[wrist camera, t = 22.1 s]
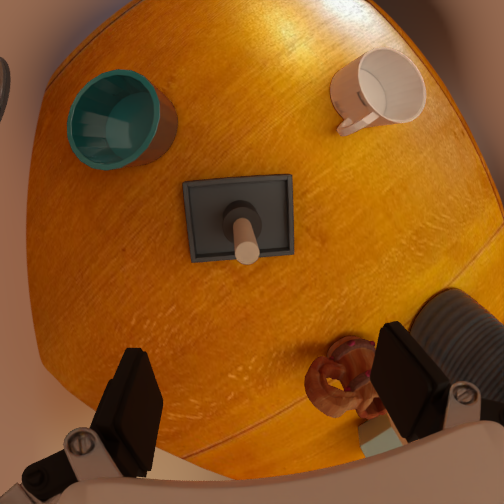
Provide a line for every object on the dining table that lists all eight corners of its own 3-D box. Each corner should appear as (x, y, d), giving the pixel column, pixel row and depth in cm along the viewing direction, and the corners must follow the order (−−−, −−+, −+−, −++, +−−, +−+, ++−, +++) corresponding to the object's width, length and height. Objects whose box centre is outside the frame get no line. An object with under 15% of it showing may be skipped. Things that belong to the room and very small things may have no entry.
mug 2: (378, 331, 45) (419, 388, 31) (359, 367, 48) (391, 426, 34) (301, 322, 43) (330, 390, 29) (285, 361, 46) (304, 431, 31)
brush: (224, 235, 37) (222, 280, 24) (221, 201, 36) (217, 229, 23) (258, 232, 38) (275, 275, 24) (256, 198, 36) (273, 224, 23)
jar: (107, 170, 34) (70, 177, 24) (103, 98, 30) (66, 84, 21) (180, 159, 34) (163, 161, 25) (176, 83, 31) (158, 60, 21)
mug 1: (358, 55, 31) (390, 34, 22) (398, 104, 33) (437, 97, 25) (299, 101, 33) (321, 86, 24) (344, 153, 35) (377, 155, 27)
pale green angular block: (356, 417, 60) (360, 460, 40) (382, 400, 59) (395, 438, 39) (387, 456, 55) (396, 502, 36) (411, 440, 54) (428, 483, 34)
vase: (427, 282, 43) (554, 394, 13) (476, 290, 45) (579, 372, 16) (392, 358, 48) (475, 483, 18) (445, 355, 50) (522, 449, 20)
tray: (193, 257, 38) (191, 262, 37) (184, 181, 35) (182, 182, 33) (291, 249, 39) (294, 254, 37) (289, 173, 36) (292, 174, 34)
